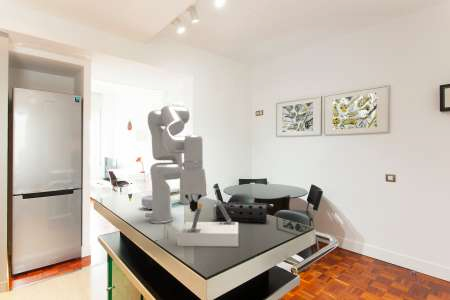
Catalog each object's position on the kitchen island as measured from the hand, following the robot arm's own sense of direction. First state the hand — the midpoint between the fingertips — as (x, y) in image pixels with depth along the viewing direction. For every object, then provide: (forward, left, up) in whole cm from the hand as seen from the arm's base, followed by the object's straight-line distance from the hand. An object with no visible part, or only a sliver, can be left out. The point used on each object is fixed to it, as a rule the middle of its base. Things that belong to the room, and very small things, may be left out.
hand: (193, 210), depth 99 cm
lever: (+14, +11, -7) cm, 19 cm away
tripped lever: (0, 0, -7) cm, 7 cm away
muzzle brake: (+19, +33, -13) cm, 40 cm away
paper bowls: (-39, +63, -13) cm, 75 cm away
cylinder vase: (-19, +81, -13) cm, 84 cm away
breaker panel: (+6, +5, -13) cm, 15 cm away
